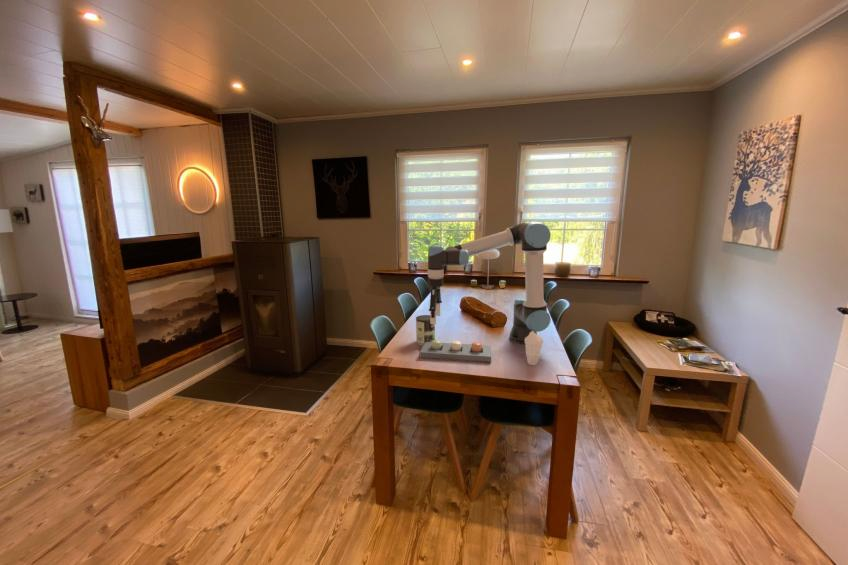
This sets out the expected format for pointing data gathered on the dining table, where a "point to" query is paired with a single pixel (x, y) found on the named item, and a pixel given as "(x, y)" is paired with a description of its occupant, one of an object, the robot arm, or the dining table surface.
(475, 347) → the terracotta button
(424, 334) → the coffee can
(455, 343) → the cream button
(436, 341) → the sage button
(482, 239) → the robot arm
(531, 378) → the dining table surface
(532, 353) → the soft serve ice cream cone
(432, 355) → the button panel
